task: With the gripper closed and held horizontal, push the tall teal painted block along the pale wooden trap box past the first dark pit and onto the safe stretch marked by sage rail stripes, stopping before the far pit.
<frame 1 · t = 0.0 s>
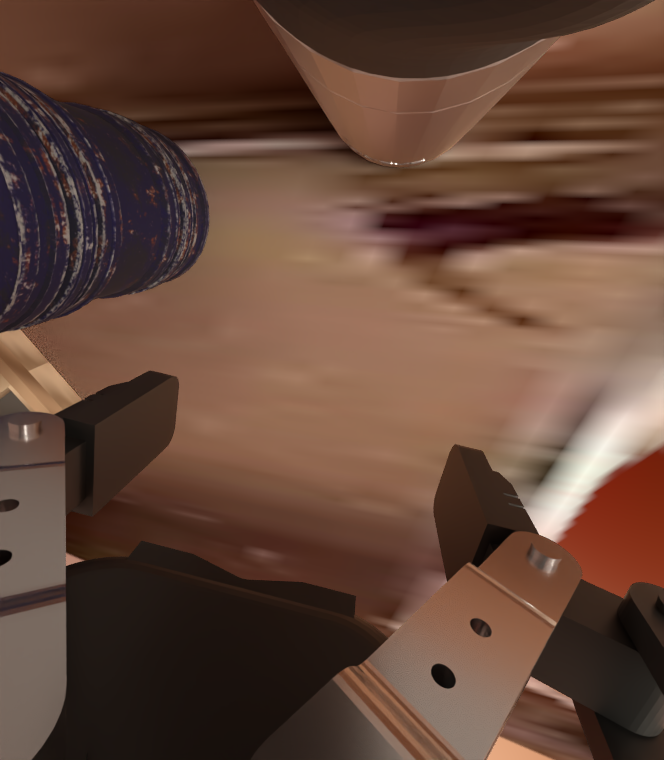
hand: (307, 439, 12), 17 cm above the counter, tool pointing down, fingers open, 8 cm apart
navy cylinder: (139, 209, 27), on the counter
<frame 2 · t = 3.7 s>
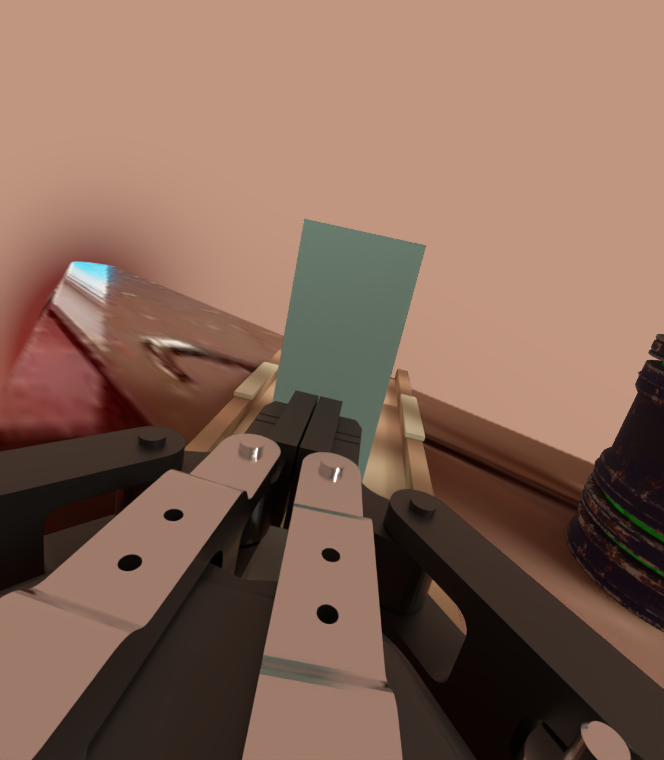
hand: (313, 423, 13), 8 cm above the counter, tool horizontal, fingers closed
navy cylinder: (658, 579, 23), on the counter
teal block: (316, 459, 23), point 2 cm above the counter, touching trap box
trap box: (318, 459, 27), on the counter
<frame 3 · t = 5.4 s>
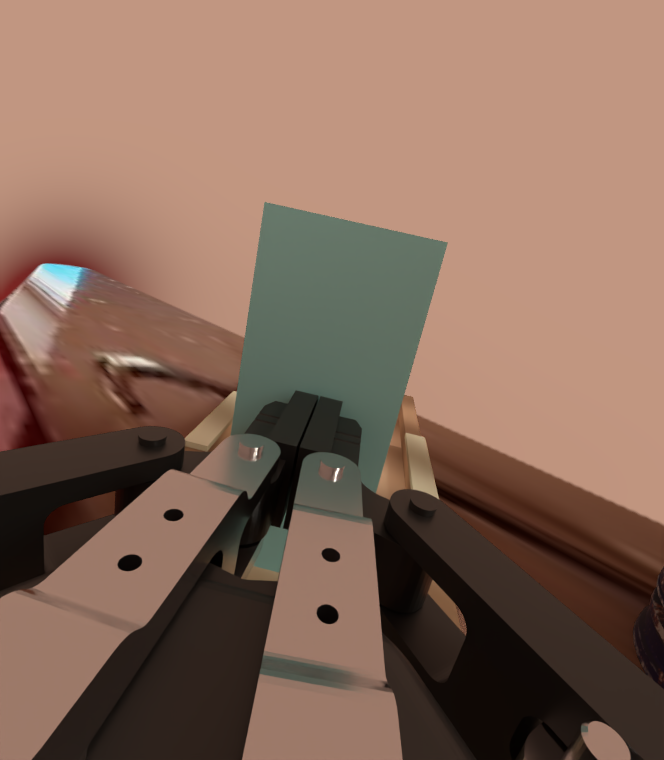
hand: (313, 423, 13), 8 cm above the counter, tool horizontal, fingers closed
teal block: (293, 528, 17), point 2 cm above the counter, touching trap box
trap box: (296, 529, 20), on the counter
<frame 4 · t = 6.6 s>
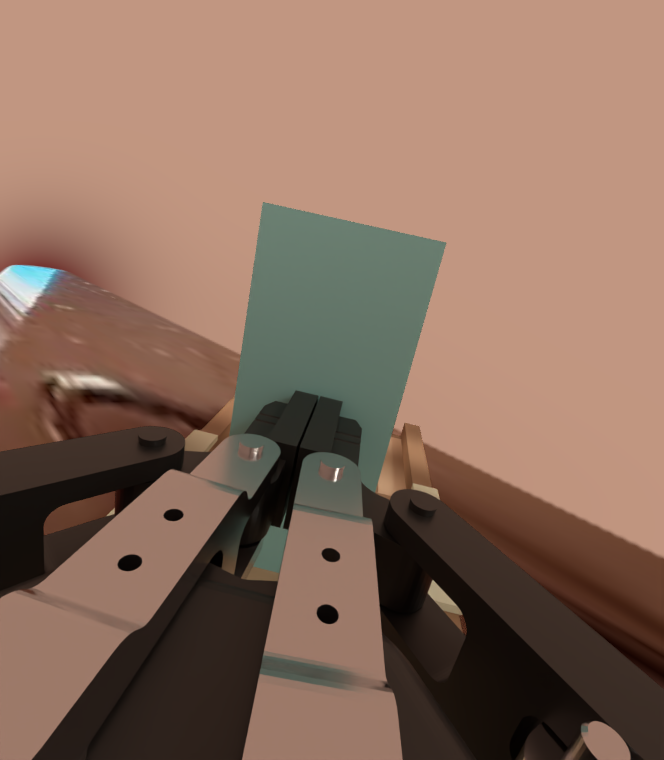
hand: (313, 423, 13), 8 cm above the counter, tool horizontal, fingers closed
teal block: (292, 528, 17), point 2 cm above the counter, touching gripper, trap box
trap box: (266, 634, 15), on the counter
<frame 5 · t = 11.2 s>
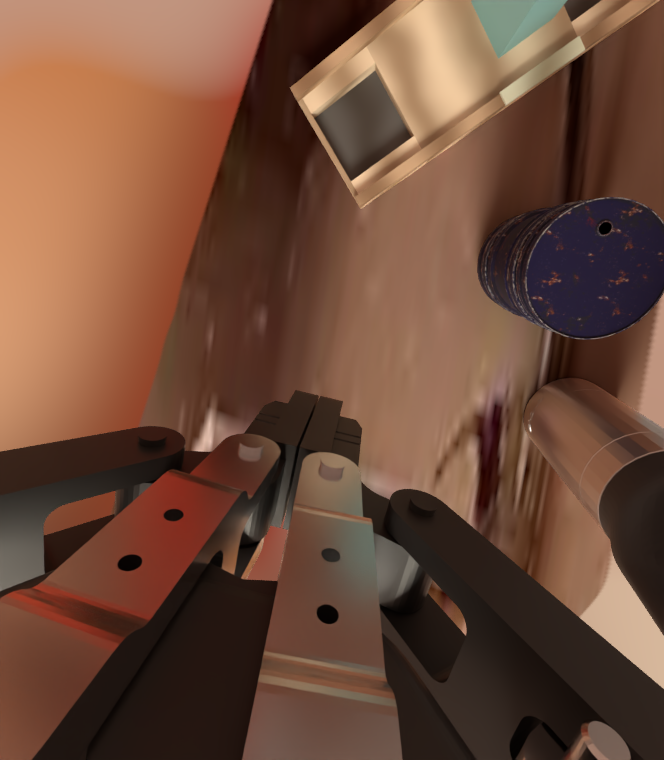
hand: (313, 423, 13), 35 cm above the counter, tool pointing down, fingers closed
navy cylinder: (524, 263, 43), on the counter
teal block: (512, 9, 35), point 2 cm above the counter, touching trap box
trap box: (465, 53, 38), on the counter
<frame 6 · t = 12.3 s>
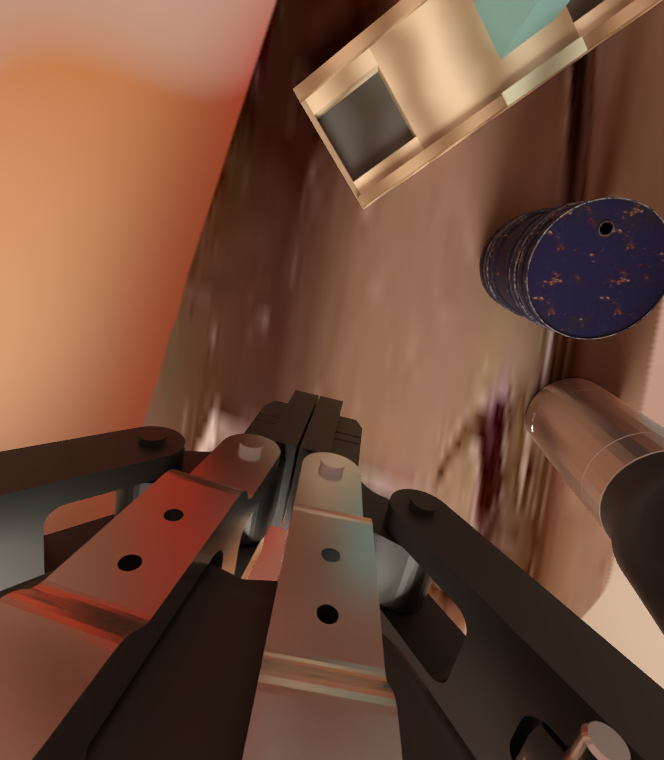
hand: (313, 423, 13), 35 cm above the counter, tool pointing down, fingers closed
navy cylinder: (526, 263, 43), on the counter
teal block: (514, 10, 35), point 2 cm above the counter, touching trap box
trap box: (467, 54, 38), on the counter
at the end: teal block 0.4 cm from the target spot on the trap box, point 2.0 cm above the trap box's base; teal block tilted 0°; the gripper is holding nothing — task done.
